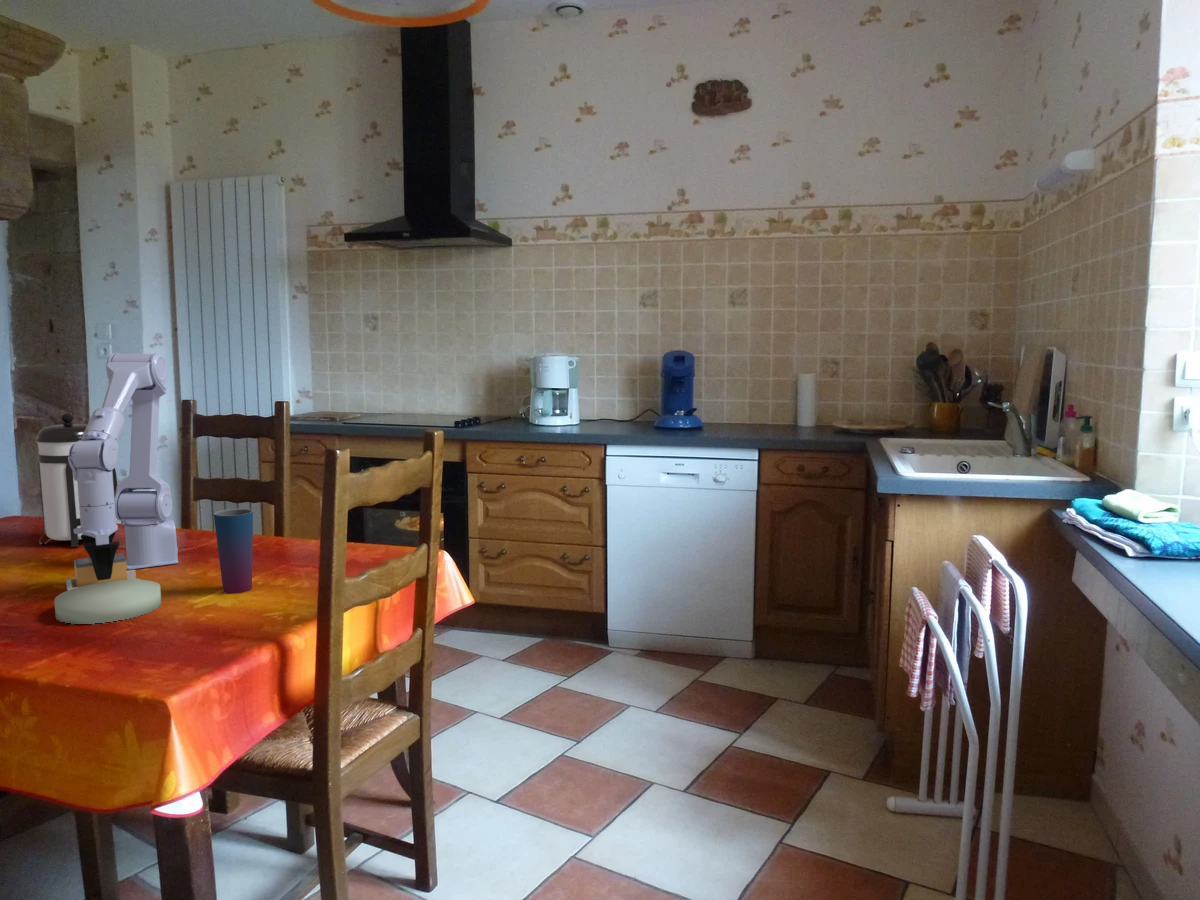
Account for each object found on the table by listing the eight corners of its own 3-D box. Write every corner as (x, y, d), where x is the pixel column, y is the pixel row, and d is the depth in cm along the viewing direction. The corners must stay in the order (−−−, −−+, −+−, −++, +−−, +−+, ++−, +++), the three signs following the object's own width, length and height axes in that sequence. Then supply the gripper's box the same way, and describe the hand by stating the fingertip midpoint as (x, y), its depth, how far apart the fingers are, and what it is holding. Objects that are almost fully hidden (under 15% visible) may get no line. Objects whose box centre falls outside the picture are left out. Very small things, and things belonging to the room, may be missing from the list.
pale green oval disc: (148, 577, 166) (147, 563, 166) (167, 613, 145) (166, 596, 144) (52, 591, 157) (51, 575, 157) (57, 631, 136) (55, 613, 135)
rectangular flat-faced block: (124, 583, 162) (122, 553, 161) (128, 589, 159) (125, 558, 158) (76, 591, 158) (73, 559, 157) (78, 597, 154) (76, 564, 153)
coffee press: (31, 553, 185) (19, 417, 181) (46, 537, 199) (35, 411, 195) (121, 545, 191) (111, 415, 187) (129, 530, 206) (120, 409, 202)
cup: (219, 597, 154) (214, 517, 152) (217, 587, 160) (212, 510, 158) (258, 592, 157) (254, 513, 155) (255, 582, 163) (251, 507, 161)
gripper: (69, 499, 160) (75, 568, 162) (73, 512, 148) (79, 587, 150) (112, 496, 164) (117, 563, 165) (119, 508, 152) (124, 581, 154)
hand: (102, 574), depth 158 cm, fingers open, 7 cm apart
